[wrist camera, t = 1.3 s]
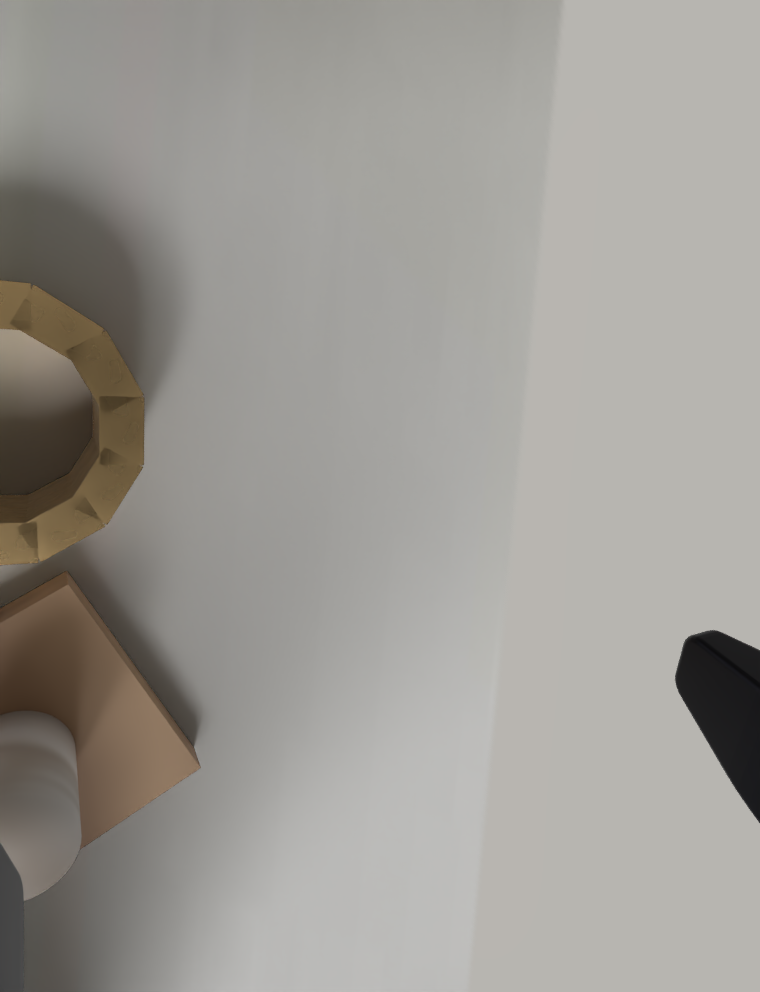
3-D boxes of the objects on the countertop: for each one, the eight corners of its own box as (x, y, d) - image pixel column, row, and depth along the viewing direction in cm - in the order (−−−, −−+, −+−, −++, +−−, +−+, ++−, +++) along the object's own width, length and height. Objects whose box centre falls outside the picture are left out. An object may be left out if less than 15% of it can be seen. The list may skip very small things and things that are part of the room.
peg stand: (-27, 895, 23) (-45, 1044, 18) (-205, 723, 19) (-282, 853, 15) (194, 748, 25) (227, 848, 20) (66, 570, 21) (72, 642, 17)
